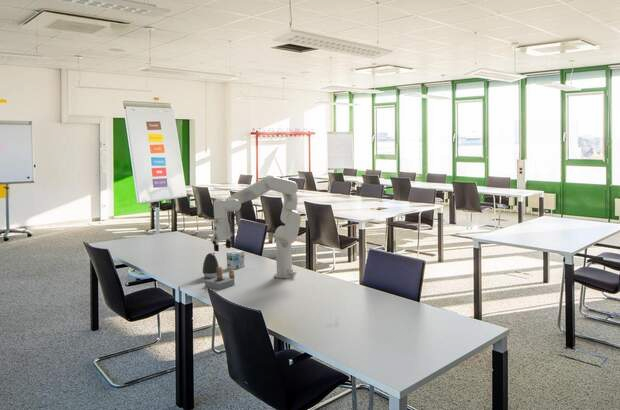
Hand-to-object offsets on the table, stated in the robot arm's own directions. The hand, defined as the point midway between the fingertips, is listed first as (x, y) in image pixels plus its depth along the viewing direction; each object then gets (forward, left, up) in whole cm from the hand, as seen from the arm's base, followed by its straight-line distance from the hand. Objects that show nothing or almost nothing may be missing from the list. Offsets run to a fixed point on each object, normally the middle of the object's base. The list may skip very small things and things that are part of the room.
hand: (222, 249), depth 288 cm
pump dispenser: (+18, -7, -21) cm, 29 cm away
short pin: (+5, -12, -21) cm, 25 cm away
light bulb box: (+23, -34, -21) cm, 47 cm away
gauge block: (-1, +4, -21) cm, 21 cm away
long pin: (-1, +4, -21) cm, 21 cm away
